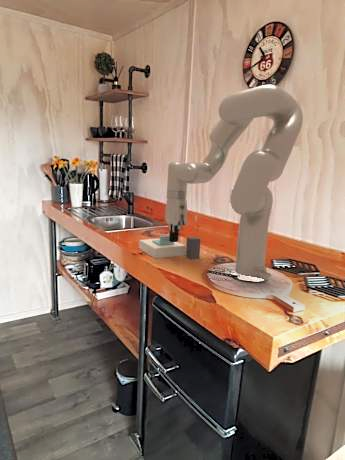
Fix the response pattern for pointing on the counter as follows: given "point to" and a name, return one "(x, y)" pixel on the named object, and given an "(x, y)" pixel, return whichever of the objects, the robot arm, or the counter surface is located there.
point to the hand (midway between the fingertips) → (173, 241)
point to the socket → (161, 249)
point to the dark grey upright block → (193, 248)
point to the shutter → (163, 241)
